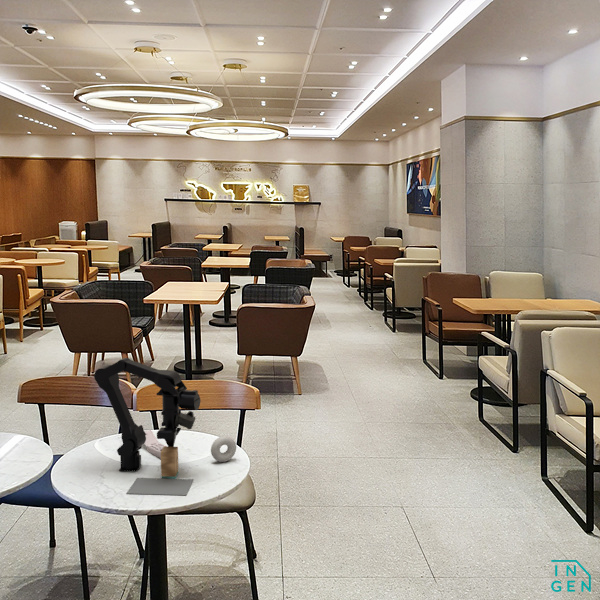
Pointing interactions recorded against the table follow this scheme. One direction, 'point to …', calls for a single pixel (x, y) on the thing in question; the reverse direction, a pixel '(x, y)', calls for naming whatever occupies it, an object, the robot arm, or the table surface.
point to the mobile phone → (153, 444)
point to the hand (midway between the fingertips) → (171, 449)
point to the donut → (217, 445)
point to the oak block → (169, 462)
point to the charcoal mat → (160, 486)
